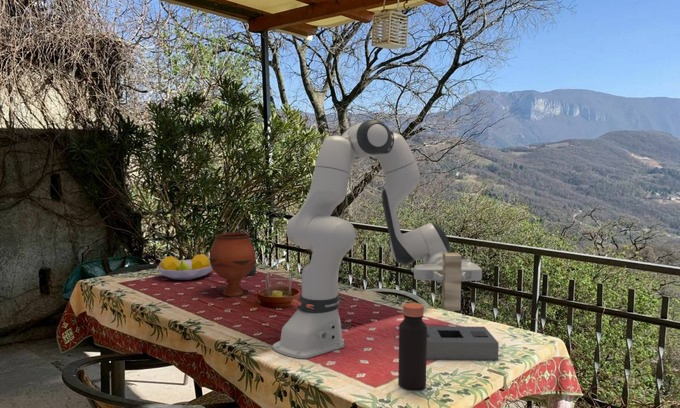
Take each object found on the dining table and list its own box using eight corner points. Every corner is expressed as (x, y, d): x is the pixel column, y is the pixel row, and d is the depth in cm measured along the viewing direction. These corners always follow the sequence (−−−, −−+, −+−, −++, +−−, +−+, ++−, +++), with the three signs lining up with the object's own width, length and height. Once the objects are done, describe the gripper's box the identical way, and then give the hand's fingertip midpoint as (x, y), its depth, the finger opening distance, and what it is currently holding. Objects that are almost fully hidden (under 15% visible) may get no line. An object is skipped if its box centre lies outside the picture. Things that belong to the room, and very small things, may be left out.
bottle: (416, 393, 119) (417, 311, 118) (392, 385, 124) (394, 305, 122) (431, 384, 124) (432, 305, 123) (408, 376, 129) (409, 300, 127)
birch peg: (441, 306, 148) (442, 252, 147) (456, 306, 148) (458, 252, 147) (444, 310, 144) (445, 255, 143) (460, 310, 144) (461, 255, 143)
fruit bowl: (172, 270, 256) (172, 248, 255) (223, 272, 252) (223, 250, 251) (143, 283, 228) (143, 258, 227) (200, 285, 224) (200, 260, 223)
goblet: (243, 285, 224) (242, 230, 222) (264, 294, 209) (264, 235, 207) (202, 292, 212) (201, 233, 210) (222, 302, 197) (221, 239, 195)
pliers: (330, 288, 219) (360, 297, 204) (330, 289, 219) (360, 299, 204) (312, 291, 213) (341, 301, 198) (312, 293, 213) (341, 303, 198)
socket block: (405, 341, 154) (406, 325, 154) (483, 342, 154) (484, 326, 154) (412, 359, 140) (412, 341, 140) (498, 360, 140) (498, 342, 140)
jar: (236, 272, 250) (236, 257, 250) (256, 272, 251) (256, 257, 251) (234, 277, 240) (234, 261, 240) (255, 277, 241) (255, 261, 241)
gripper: (410, 258, 158) (416, 267, 144) (474, 258, 158) (487, 268, 144) (409, 278, 159) (416, 289, 145) (474, 278, 159) (486, 289, 145)
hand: (452, 278), depth 145 cm, fingers closed on birch peg, 4 cm apart
